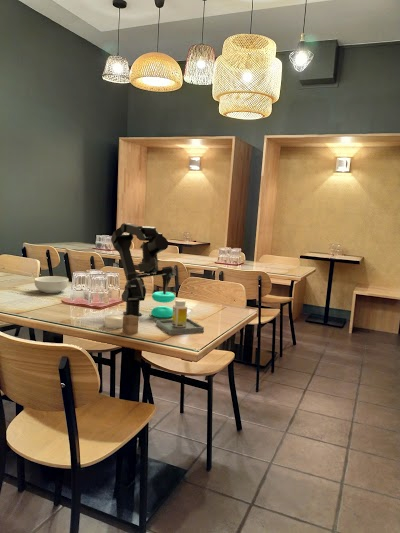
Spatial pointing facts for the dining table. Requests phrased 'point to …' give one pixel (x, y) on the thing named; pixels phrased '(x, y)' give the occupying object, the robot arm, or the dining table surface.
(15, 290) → the dining table surface
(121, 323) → the cream rounded block
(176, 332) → the slate tray
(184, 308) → the supplement bottle
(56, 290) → the cereal bowl
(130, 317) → the walnut block
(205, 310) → the dining table surface
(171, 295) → the donuts
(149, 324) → the dining table surface
